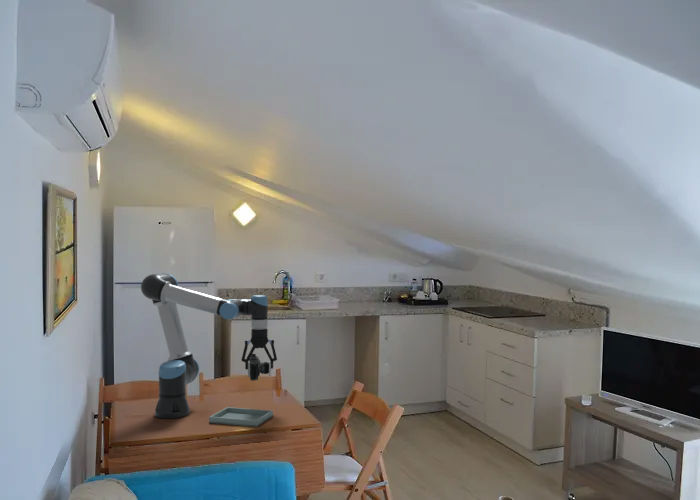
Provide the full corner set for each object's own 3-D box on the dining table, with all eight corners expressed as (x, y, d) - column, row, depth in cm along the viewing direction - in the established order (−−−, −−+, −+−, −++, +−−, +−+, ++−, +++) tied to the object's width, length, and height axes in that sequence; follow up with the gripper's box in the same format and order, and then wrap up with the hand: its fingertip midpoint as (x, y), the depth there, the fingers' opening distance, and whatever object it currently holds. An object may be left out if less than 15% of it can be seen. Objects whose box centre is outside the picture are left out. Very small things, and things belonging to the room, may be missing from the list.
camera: (270, 380, 270) (270, 358, 270) (250, 381, 268) (250, 359, 268) (267, 372, 287) (267, 352, 287) (248, 373, 285) (248, 352, 285)
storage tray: (209, 422, 255) (209, 416, 255) (227, 412, 270) (227, 407, 270) (257, 426, 248) (257, 420, 248) (272, 416, 264) (272, 410, 264)
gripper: (282, 326, 284) (281, 373, 284) (235, 327, 279) (235, 375, 279) (283, 328, 276) (283, 376, 276) (235, 329, 272) (235, 378, 272)
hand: (259, 375), depth 278 cm, fingers closed on camera, 9 cm apart
